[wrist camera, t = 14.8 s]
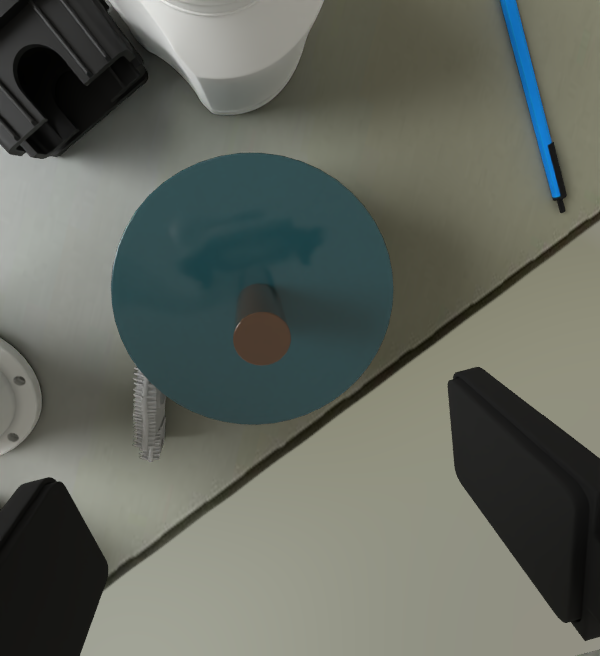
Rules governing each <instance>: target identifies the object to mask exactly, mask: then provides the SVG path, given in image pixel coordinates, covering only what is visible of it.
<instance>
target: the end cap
mask: <svg viewBox="0 0 600 656" xmlns="http://www.w3.org/2000/svg"><path fill="white" fill-rule="evenodd" d="M108 9H109V6H108V5H107V3H106V2H105V1H104V0H0V144H1V145H2V147H3V148H4V149H5V150H6V151H7V152H8V153H9V154H11V155H18V156H22V155H23V154H24V153H26V152H27V154H28V155H29V156H30V157H33V158H40V159H44V158H47V157H49V156H53V157H57V156H60V155H61V154H62V153H63V152H65V151H66V150H67V149H68V148H69V147H70V146H72V145H73V144H74V143H75V142H76V141H77V140H79V139H80V138H81V137H82V136H83V135H84V134H86V133H87V132H88V131H89V130H90V129H91V128H93V127H94V126H95V125H96V124H97V123H98V122H100V121H101V120H102V119H103V118H104V117H105V116H107V115H108V114H109V113H110V112H111V111H112V110H114V109H115V108H116V107H117V106H118V105H119V104H121V103H122V102H123V101H124V100H125V99H126V98H128V97H129V96H130V95H131V94H132V93H133V92H135V91H136V90H137V89H138V88H139V87H140V86H142V85H143V84H144V83H145V82H146V81H147V79H148V72H147V70H146V68H145V67H144V66H143V59H142V58H141V57H140V55H139V54H138V53H137V51H136V50H135V49H134V47H133V46H132V45H131V43H130V42H129V40H128V39H127V38H126V36H125V35H124V34H123V32H122V31H121V30H120V28H119V27H118V26H117V24H116V23H115V22H114V20H113V19H112V18H111V16H110V15H109V14H108V12H107V11H108Z"/></svg>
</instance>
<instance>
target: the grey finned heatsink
mask: <svg viewBox="0 0 600 656" xmlns="http://www.w3.org/2000/svg"><path fill="white" fill-rule="evenodd" d="M134 369H135V370H138V373H136V372H134V375H137V378H133V380H136V381H137V382H134V384H135V385H136V389H135V388H133V391H135V393H134V394H133V396H135V398H134V399H133V401H135V403H134V404H133V405H134V406H135V407H134V409H135V411H133V414H132V415H134V416H133V419H134V420H133V421H134V422H137V423H134V424H133V425H136V426H137V427H136V426H134V428H135V429H137V431H135V430H134V433H137V435H135V434H134V435H133V437H137V440H136V439H133V441H135V442H136V444H134V443H133V446H136V447H140V450H142V451H143V453H142V452H140V453H139V454H142V455H143V456H139V458H141V459H145V460H148V461H149V462H152V461H153V460H157V459H159V455H160V453H161V450H162V447H163V444H164V440H165V421H166V416H165V400H166V396H165V395H164V394H163V393H162V392H161V391H159V390H158V389H157V388H156V387H155V386H154V385H153V384H152V383H150V381H149V380H148V379H147V378H146V377H145V376H144V375H143V373H142V372H141V371H140V370H139V369H138V368H137V367H135V368H134ZM135 416H136V417H135ZM135 419H137V420H135Z"/></svg>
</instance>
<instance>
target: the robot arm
mask: <svg viewBox="0 0 600 656" xmlns="http://www.w3.org/2000/svg"><path fill="white" fill-rule="evenodd" d="M448 396H449V407H450V419H451V431H452V442H453V454H454V466H455V471H456V474H457V477H458V479H459V481H460V482H461V484H462V486H463V487H464V488H465V490H466V491H467V492H468V494H469V495H470V497H471V498H472V499H473V501H474V502H475V503H476V505H477V506H478V508H479V509H480V510H481V512H482V513H483V514H484V516H485V517H486V519H487V520H488V521H489V523H490V524H491V526H492V527H493V528H494V530H495V531H496V533H497V534H498V535H499V537H500V538H501V539H502V541H503V542H504V543H505V545H506V546H507V548H508V549H509V551H510V552H511V553H512V555H513V556H514V557H515V559H516V560H517V562H518V563H519V564H520V566H521V567H522V569H523V570H524V571H525V572H526V574H527V575H528V577H529V578H530V580H531V581H532V582H533V584H534V585H535V587H536V588H537V589H538V591H539V592H540V593H541V595H542V596H543V598H544V599H545V600H546V602H547V603H548V605H549V606H550V607H551V608H552V610H553V611H554V613H555V614H556V615H557V616H558V618H559V619H560V620H561V621H563V622H565V623H567V622H571V623H572V624H573V626H574V627H575V628H576V630H577V631H578V632H579V634H580V635H581V636H582V638H583V639H584V640H585V641H587V640H590V639H593V638H597V637H600V458H598V457H597V456H596V455H595V454H593V453H592V452H591V451H589V450H588V449H587V448H585V447H584V446H583V445H582V444H580V443H579V442H578V441H576V440H575V439H574V438H572V437H571V436H570V435H569V434H567V433H566V432H565V431H563V430H562V429H561V428H559V427H558V426H557V425H555V424H554V423H553V422H552V421H550V420H549V419H548V418H546V417H545V416H544V415H542V414H541V413H539V412H538V411H537V410H535V409H534V408H533V407H531V406H530V405H529V404H527V403H526V402H525V401H524V400H522V399H521V398H520V397H518V396H517V395H516V394H515V393H513V392H512V391H511V390H509V389H508V388H507V387H505V386H504V385H503V384H502V383H500V382H499V381H498V380H496V379H495V378H494V377H493V376H491V375H490V374H489V373H487V372H486V371H485V370H483V369H482V368H480V367H475V368H471V369H467V370H464V371H460V372H456V373H455V374H454V376H453V380H449V382H448ZM41 409H42V394H41V390H40V385H39V382H38V380H37V377H36V375H35V373H34V371H33V369H32V368H31V366H30V365H29V364H28V362H27V361H26V359H25V358H24V357H23V356H22V355H21V354H20V353H19V352H18V351H17V350H16V349H15V348H14V347H13V346H11V345H10V344H8V343H7V342H6V341H4V340H3V339H1V338H0V456H1V455H4V454H5V453H7V452H9V451H11V450H12V449H14V448H16V447H17V446H18V445H19V444H20V443H21V442H22V441H24V440H25V438H26V437H27V436H28V435H29V434H30V433H31V431H32V430H33V429H34V427H35V425H36V423H37V421H38V420H39V416H40V412H41ZM107 577H108V564H107V561H106V559H105V557H104V556H103V554H102V552H101V550H100V548H99V546H98V545H97V543H96V541H95V539H94V537H93V536H92V534H91V532H90V530H89V528H88V527H87V525H86V523H85V521H84V519H83V518H82V516H81V514H80V512H79V510H78V509H77V507H76V505H75V503H74V501H73V499H72V498H71V496H70V494H69V492H68V490H67V489H66V487H65V485H64V484H63V483H62V482H57V481H56V480H55V479H53V478H49V477H48V478H44V479H40V480H36V481H33V482H29V483H25V484H23V485H21V486H20V487H19V488H18V489H17V490H16V491H15V493H14V494H13V495H12V496H11V498H10V499H9V500H8V502H7V503H6V504H5V506H4V507H3V508H2V510H1V511H0V656H80V653H81V650H82V648H83V645H84V642H85V639H86V637H87V634H88V631H89V628H90V625H91V622H92V620H93V617H94V614H95V611H96V609H97V606H98V603H99V600H100V597H101V595H102V592H103V589H104V586H105V584H106V581H107ZM578 656H600V650H596V651H592V652H589V653H585V654H581V655H578Z"/></svg>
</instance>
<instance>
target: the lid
mask: <svg viewBox="0 0 600 656" xmlns="http://www.w3.org/2000/svg"><path fill="white" fill-rule="evenodd" d="M111 295H112V307H113V312H114V317H115V322H116V325H117V328H118V331H119V334H120V337H121V339H122V341H123V343H124V345H125V348H126V350H127V352H128V354H129V355H130V357H131V358H132V360H133V361H134V363H135V364H136V366H137V367H138V369H139V370H140V371H141V372H142V373H143V375H144V376H145V377H146V378H147V379H148V380H149V381H150V383H152V384H153V385H154V386H155V387H156V388H157V389H158V390H159V391H161V392H162V393H163V394H164V395H165V396H167V397H168V398H170V399H171V400H173V401H174V402H176V403H177V404H179V405H181V406H183V407H185V408H186V409H188V410H190V411H192V412H195V413H197V414H200V415H202V416H205V417H208V418H211V419H215V420H219V421H223V422H229V423H236V424H253V425H259V424H270V423H277V422H282V421H287V420H291V419H294V418H297V417H300V416H304V415H306V414H308V413H311V412H313V411H315V410H317V409H320V408H321V407H323V406H325V405H326V404H328V403H330V402H331V401H333V400H334V399H336V398H337V397H338V396H340V395H341V394H342V393H344V392H345V391H346V390H347V389H348V388H349V387H350V386H352V385H353V384H354V383H355V382H356V381H357V380H358V379H359V377H360V376H361V375H362V374H363V373H364V371H365V370H366V369H367V368H368V366H369V365H370V363H371V362H372V360H373V358H374V357H375V355H376V354H377V352H378V350H379V348H380V346H381V343H382V341H383V339H384V337H385V334H386V331H387V328H388V325H389V321H390V316H391V311H392V304H393V274H392V268H391V263H390V258H389V254H388V251H387V248H386V245H385V242H384V239H383V237H382V235H381V233H380V231H379V229H378V227H377V225H376V223H375V221H374V220H373V218H372V217H371V215H370V214H369V212H368V211H367V209H366V208H365V206H364V205H363V204H362V203H361V202H360V201H359V200H358V199H357V198H356V197H355V195H354V194H353V193H352V192H351V191H349V190H348V189H347V188H346V187H345V186H343V185H342V184H341V183H340V182H339V181H337V180H336V179H334V178H333V177H331V176H330V175H328V174H326V173H325V172H323V171H322V170H320V169H318V168H315V167H313V166H311V165H309V164H306V163H304V162H302V161H299V160H295V159H292V158H288V157H285V156H280V155H273V154H266V153H237V154H231V155H224V156H218V157H215V158H212V159H208V160H205V161H202V162H199V163H197V164H195V165H193V166H190V167H188V168H186V169H184V170H182V171H180V172H178V173H177V174H175V175H174V176H172V177H171V178H169V179H168V180H166V181H165V182H163V183H162V184H161V185H160V186H159V187H158V188H157V189H156V190H155V191H153V192H152V193H151V194H150V195H149V196H148V197H147V198H146V199H145V201H144V202H143V203H142V204H141V206H140V207H139V208H138V209H137V210H136V212H135V213H134V215H133V216H132V218H131V220H130V221H129V223H128V225H127V226H126V228H125V230H124V233H123V235H122V237H121V240H120V242H119V245H118V247H117V251H116V255H115V259H114V263H113V270H112V280H111Z"/></svg>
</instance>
